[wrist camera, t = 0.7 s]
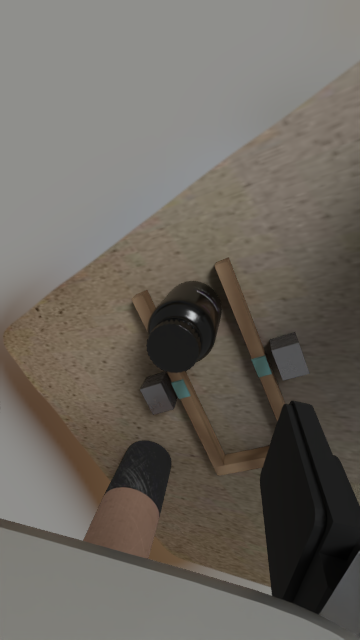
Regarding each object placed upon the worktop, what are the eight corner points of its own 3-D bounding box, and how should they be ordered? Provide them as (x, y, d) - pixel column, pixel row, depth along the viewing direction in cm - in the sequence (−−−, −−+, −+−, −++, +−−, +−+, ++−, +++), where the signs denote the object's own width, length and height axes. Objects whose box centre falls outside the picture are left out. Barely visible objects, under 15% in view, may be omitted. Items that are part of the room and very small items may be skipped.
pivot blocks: (294, 331, 38) (298, 342, 35) (304, 360, 39) (309, 373, 36) (146, 377, 44) (139, 389, 41) (158, 401, 45) (153, 414, 42)
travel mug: (116, 459, 50) (42, 611, 32) (140, 429, 47) (73, 578, 29) (156, 486, 51) (106, 651, 32) (183, 458, 47) (144, 623, 29)
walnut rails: (229, 257, 36) (228, 260, 34) (302, 448, 43) (305, 461, 41) (136, 294, 40) (130, 299, 37) (218, 464, 47) (217, 477, 45)
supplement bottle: (226, 284, 37) (218, 320, 26) (217, 337, 40) (207, 391, 29) (168, 275, 38) (137, 307, 27) (163, 327, 41) (133, 376, 30)
